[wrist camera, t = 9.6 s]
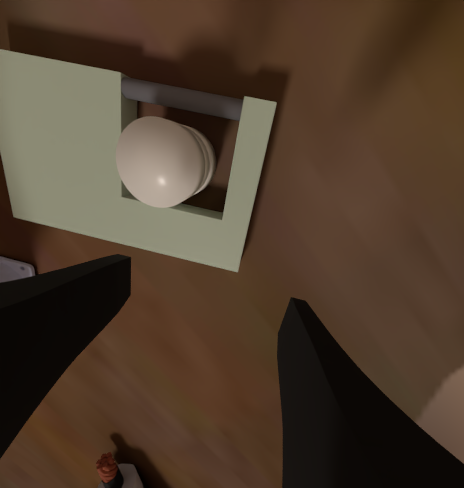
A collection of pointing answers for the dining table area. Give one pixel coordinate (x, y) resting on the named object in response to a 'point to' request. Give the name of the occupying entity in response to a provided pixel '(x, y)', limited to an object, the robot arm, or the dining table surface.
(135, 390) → the dining table surface
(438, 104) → the dining table surface
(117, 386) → the dining table surface
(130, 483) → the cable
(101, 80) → the pale green panel
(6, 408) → the robot arm
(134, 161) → the white round knob
